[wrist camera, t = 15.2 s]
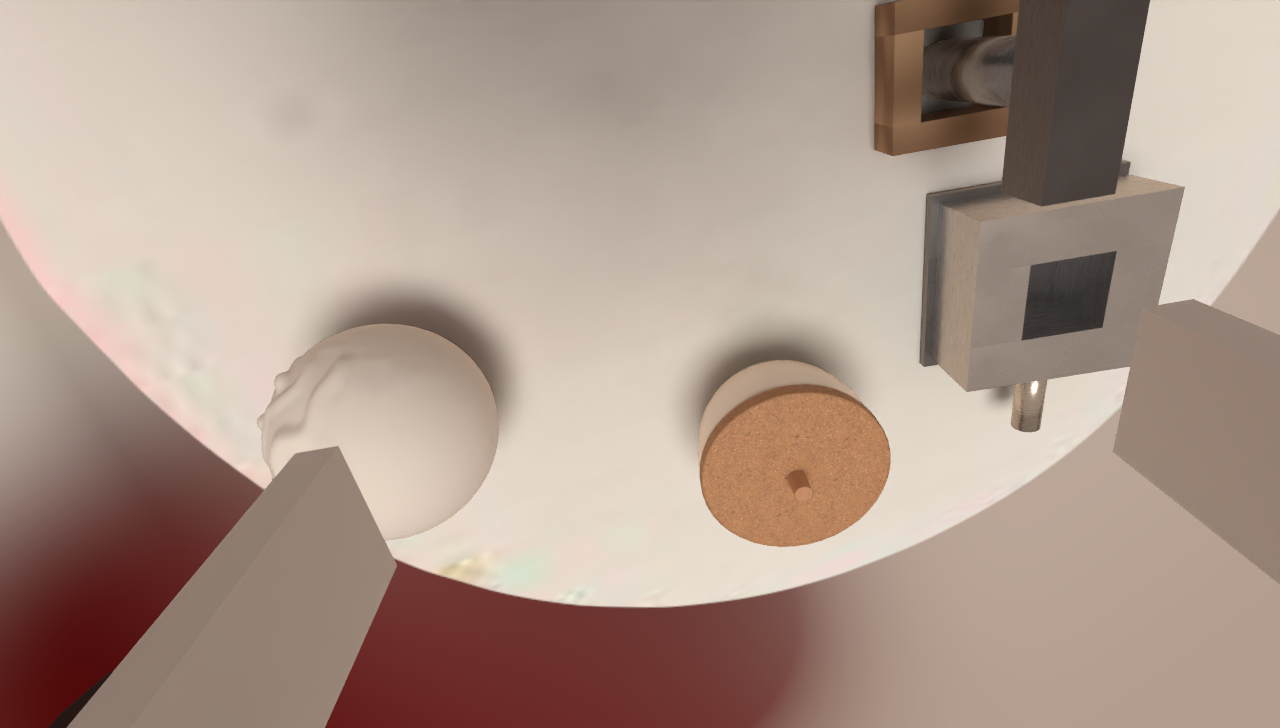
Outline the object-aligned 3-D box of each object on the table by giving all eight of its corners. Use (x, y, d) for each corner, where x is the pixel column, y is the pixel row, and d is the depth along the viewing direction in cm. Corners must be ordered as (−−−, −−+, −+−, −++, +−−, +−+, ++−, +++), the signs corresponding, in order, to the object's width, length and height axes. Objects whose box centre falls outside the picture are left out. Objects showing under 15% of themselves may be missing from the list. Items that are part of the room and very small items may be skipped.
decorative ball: (366, 256, 36) (256, 339, 25) (546, 353, 39) (517, 463, 28) (298, 406, 40) (181, 531, 29) (465, 482, 43) (414, 620, 32)
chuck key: (917, -25, 30) (1076, -72, 20) (974, -36, 30) (1165, -89, 19) (911, 162, 34) (1041, 206, 24) (962, 153, 34) (1115, 193, 23)
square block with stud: (926, 194, 35) (971, 213, 30) (1122, 160, 34) (1197, 175, 30) (917, 414, 42) (953, 456, 37) (1081, 388, 41) (1137, 428, 37)
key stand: (875, 6, 31) (895, 1, 28) (1015, -21, 30) (1047, -28, 28) (874, 149, 34) (892, 155, 32) (1002, 126, 33) (1029, 131, 31)
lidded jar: (861, 337, 39) (927, 412, 31) (829, 473, 44) (878, 571, 35) (695, 330, 38) (716, 404, 30) (681, 468, 43) (695, 566, 35)
